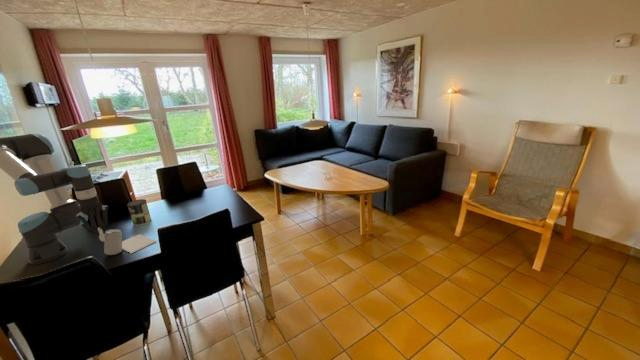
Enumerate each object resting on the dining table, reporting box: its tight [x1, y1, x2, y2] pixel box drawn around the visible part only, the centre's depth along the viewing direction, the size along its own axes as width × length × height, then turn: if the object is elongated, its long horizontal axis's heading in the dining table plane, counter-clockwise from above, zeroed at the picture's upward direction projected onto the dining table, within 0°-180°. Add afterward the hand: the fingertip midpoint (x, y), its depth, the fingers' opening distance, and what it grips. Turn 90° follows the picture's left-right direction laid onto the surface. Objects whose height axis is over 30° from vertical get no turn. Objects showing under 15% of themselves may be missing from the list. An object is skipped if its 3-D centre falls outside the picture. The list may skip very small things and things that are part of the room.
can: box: [103, 228, 123, 256], centre depth 140 cm, size 8×8×12 cm
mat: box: [122, 233, 157, 255], centre depth 150 cm, size 13×18×1 cm
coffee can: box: [126, 198, 152, 226], centre depth 174 cm, size 10×10×14 cm
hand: (102, 240), depth 136 cm, fingers closed
